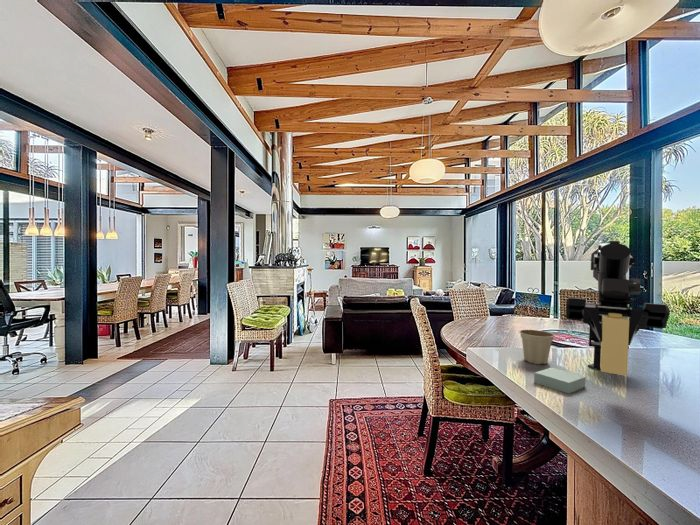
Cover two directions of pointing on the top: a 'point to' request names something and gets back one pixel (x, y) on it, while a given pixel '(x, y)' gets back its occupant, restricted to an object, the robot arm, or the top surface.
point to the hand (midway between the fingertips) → (614, 342)
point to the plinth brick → (559, 380)
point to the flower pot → (536, 345)
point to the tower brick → (614, 344)
